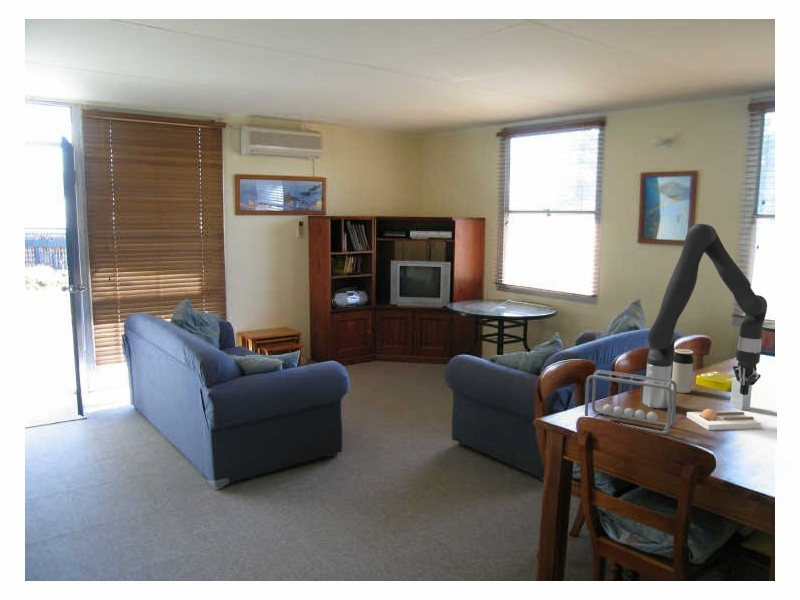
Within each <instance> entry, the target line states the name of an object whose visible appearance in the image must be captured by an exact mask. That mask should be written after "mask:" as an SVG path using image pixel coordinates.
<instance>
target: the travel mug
mask: <svg viewBox="0 0 800 600" xmlns="http://www.w3.org/2000/svg"><path fill="white" fill-rule="evenodd" d="M674 353H675V354H674V355H673V359H672V370H671V380H673V381H674V382H675V383H676V384H677V393H678V394H689V393H691V392H692V383H693V371H694V369H693V368H694V358H693V353H694V351H692V350H690V349H683V348H679V349H675V350H674ZM670 388H671V390H672V391H673V389H674V386H673V384H672V383H671V384H670Z"/></svg>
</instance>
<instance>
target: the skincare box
mask: <svg viewBox="0 0 800 600" xmlns="http://www.w3.org/2000/svg"><path fill="white" fill-rule="evenodd" d="M740 385H741V384H740V382H739V381H737V379H736V377H733V378H732V390H730V392H731V393H730V404H729V405H730V407H732V408H735V409H739V410H741V411H744V410H745V411H746V410H750V409H751V398H752V388H753V385H750V386H749V391H748V395H742V394H740Z"/></svg>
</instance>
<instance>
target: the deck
mask: <svg viewBox="0 0 800 600" xmlns="http://www.w3.org/2000/svg"><path fill="white" fill-rule="evenodd" d="M714 411H715V412H716V415H717V418H716V420H715V421H707V420H706V419H704V418H702V412H703V411H687V412H686V418H687V419H689V420H690V421H693V422H694V423H696V424H697V425H699V426H701V427H702V428H704V429H706V430H707V431H716V430H717V431H719V430H720V431H722V430H723V431H724V430H743V429H744V430H745V429H752V428H753V429H760V428H761V422H759V421H757V420H756V419H754V416H748V415H746V414H745V412H743V411H737V410H714Z"/></svg>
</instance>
